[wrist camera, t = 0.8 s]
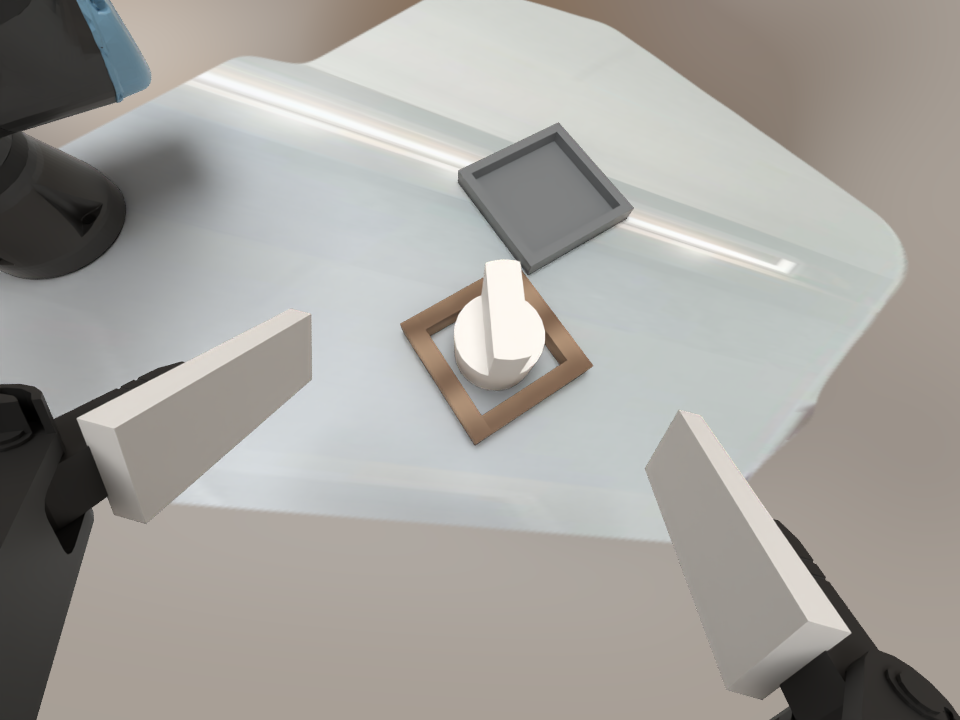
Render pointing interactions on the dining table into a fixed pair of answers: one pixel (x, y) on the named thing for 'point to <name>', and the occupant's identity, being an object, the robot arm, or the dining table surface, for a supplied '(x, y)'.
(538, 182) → the charcoal tray
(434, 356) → the walnut collar
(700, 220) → the dining table surface
